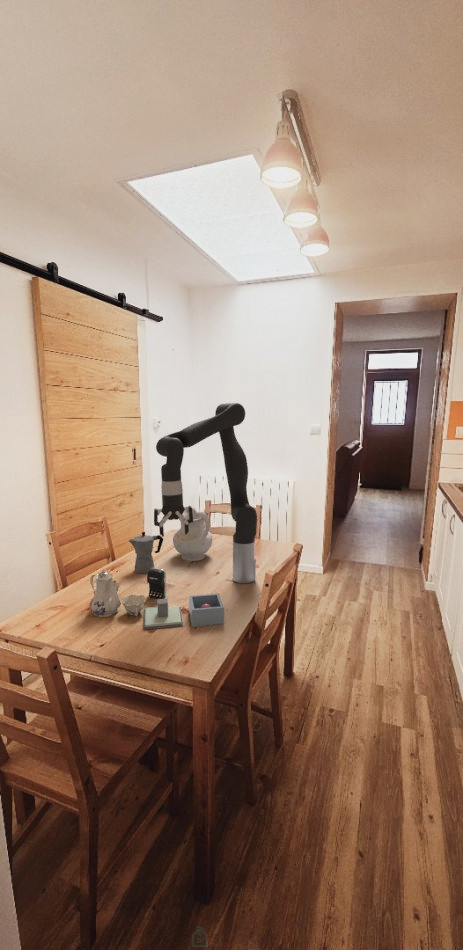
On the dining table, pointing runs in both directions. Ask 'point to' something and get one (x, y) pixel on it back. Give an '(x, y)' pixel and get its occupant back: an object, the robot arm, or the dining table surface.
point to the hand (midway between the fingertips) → (174, 535)
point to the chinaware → (112, 597)
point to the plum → (205, 606)
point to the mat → (162, 626)
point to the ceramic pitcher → (193, 537)
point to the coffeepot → (145, 552)
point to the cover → (162, 614)
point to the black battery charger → (157, 583)
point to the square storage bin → (206, 610)
